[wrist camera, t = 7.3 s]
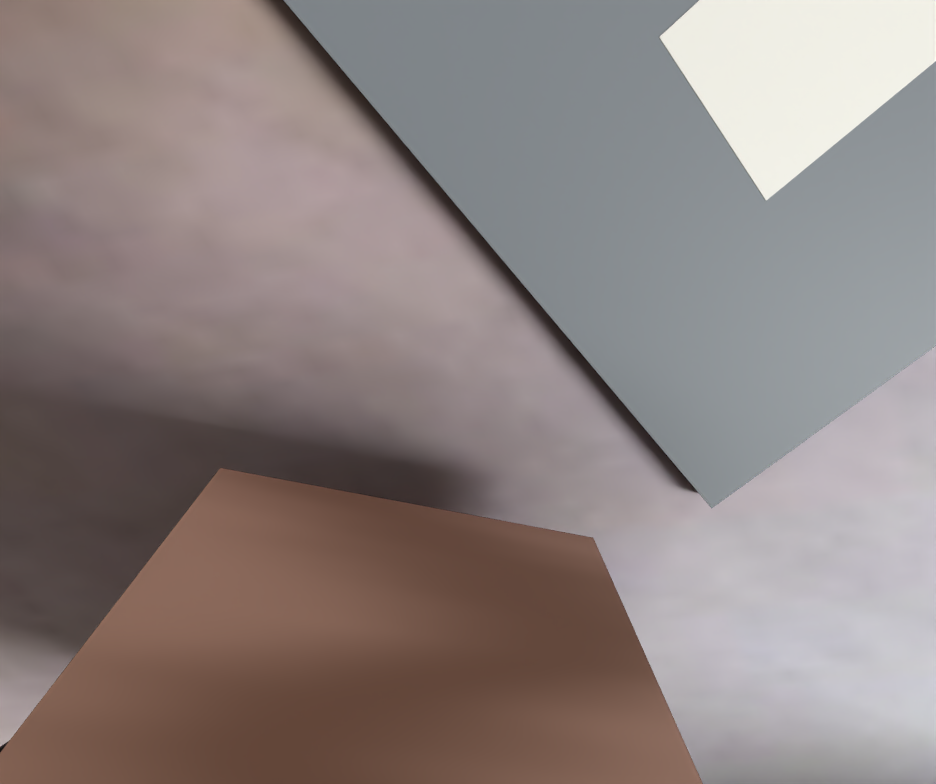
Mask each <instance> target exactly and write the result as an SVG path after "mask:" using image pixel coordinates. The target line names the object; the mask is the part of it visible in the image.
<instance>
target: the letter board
mask: <svg viewBox="0 0 936 784" xmlns="http://www.w3.org/2000/svg"><path fill="white" fill-rule="evenodd" d="M284 2H285V3H286V4H287V5H288V6H289V8H290V9H291V10H292V11H293V12H294V13H295V15H296V16H297V17H298V18H299V19H300V21H301V22H302V23H303V24H304V25H305V26H306V28H307V29H308V30H309V31H310V32H311V34H312V35H313V36H314V37H315V38H316V40H317V41H318V42H319V43H320V44H321V45H322V47H323V48H324V49H325V50H326V51H327V53H328V54H329V55H330V56H331V57H332V59H333V60H334V61H335V62H336V63H337V64H338V66H339V67H340V68H341V69H342V70H343V72H344V73H345V74H346V75H347V76H348V78H349V79H350V80H351V81H352V82H353V83H354V85H355V86H356V87H357V88H358V89H359V91H360V92H361V93H362V94H363V95H364V96H365V98H366V99H367V100H368V101H369V102H370V104H371V105H372V106H373V107H374V108H375V110H376V111H377V112H378V113H379V114H380V115H381V117H382V118H383V119H384V120H385V121H386V123H387V124H388V125H389V126H390V127H391V129H392V130H393V131H394V132H395V133H396V134H397V136H398V137H399V138H400V139H401V140H402V142H403V143H404V144H405V145H406V146H407V148H408V149H409V150H410V151H411V152H412V153H413V155H414V156H415V157H416V158H417V159H418V161H419V162H420V163H421V164H422V165H423V167H424V168H425V169H426V170H427V171H428V172H429V174H430V175H431V176H432V177H433V178H434V180H435V181H436V182H437V183H438V184H439V185H440V187H441V188H442V189H443V190H444V191H445V193H446V194H447V195H448V196H449V197H450V199H451V200H452V201H453V202H454V203H455V204H456V206H457V207H458V208H459V209H460V210H461V212H462V213H463V214H464V215H465V216H466V218H467V219H468V220H469V221H470V222H471V223H472V225H473V226H474V227H475V228H476V229H477V231H478V232H479V233H480V234H481V235H482V237H483V238H484V239H485V240H486V241H487V242H488V244H489V245H490V246H491V247H492V248H493V250H494V251H495V252H496V253H497V254H498V255H499V257H500V258H501V259H502V260H503V261H504V263H505V264H506V265H507V266H508V267H509V269H510V270H511V271H512V272H513V273H514V274H515V276H516V277H517V278H518V279H519V280H520V282H521V283H522V284H523V285H524V286H525V288H526V289H527V290H528V291H529V292H530V293H531V295H532V296H533V297H534V298H535V299H536V301H537V302H538V303H539V304H540V305H541V307H542V308H543V309H544V310H545V311H546V312H547V314H548V315H549V316H550V317H551V318H552V320H553V321H554V322H555V323H556V324H557V326H558V327H559V328H560V329H561V330H562V331H563V333H564V334H565V335H566V336H567V337H568V339H569V340H570V341H571V342H572V343H573V344H574V346H575V347H576V348H577V349H578V350H579V352H580V353H581V354H582V355H583V356H584V358H585V359H586V360H587V361H588V362H589V363H590V365H591V366H592V367H593V368H594V369H595V371H596V372H597V373H598V374H599V375H600V377H601V378H602V379H603V380H604V381H605V382H606V384H607V385H608V386H609V387H610V388H611V390H612V391H613V392H614V393H615V394H616V396H617V397H618V398H619V399H620V400H621V401H622V403H623V404H624V405H625V406H626V407H627V409H628V410H629V411H630V412H631V413H632V414H633V416H634V417H635V418H636V419H637V420H638V422H639V423H640V424H641V425H642V426H643V428H644V429H645V430H646V431H647V432H648V433H649V435H650V436H651V437H652V438H653V439H654V441H655V442H656V443H657V444H658V445H659V447H660V448H661V449H662V450H663V451H664V452H665V454H666V455H667V456H668V457H669V458H670V460H671V461H672V462H673V463H674V464H675V466H676V467H677V468H678V469H679V470H680V471H681V473H682V474H683V475H684V476H685V477H686V479H687V480H688V481H689V482H690V483H691V485H692V486H693V487H694V488H695V489H696V490H697V492H698V493H699V494H700V495H701V496H702V498H703V499H704V500H705V501H706V502H707V503H708V504H709V506H710V507H711V508H713V507H714V506H716V505H717V504H719V503H720V502H721V501H723V500H724V499H725V498H727V497H728V496H730V495H731V494H732V493H734V492H735V491H736V490H738V489H739V488H741V487H742V486H743V485H745V484H746V483H747V482H749V481H750V480H752V479H753V478H754V477H756V476H757V475H759V474H760V473H761V472H763V471H764V470H765V469H767V468H768V467H770V466H771V465H772V464H774V463H775V462H776V461H778V460H779V459H781V458H782V457H783V456H785V455H786V454H787V453H789V452H790V451H792V450H793V449H794V448H796V447H797V446H798V445H800V444H801V443H803V442H804V441H805V440H807V439H808V438H810V437H811V436H812V435H814V434H815V433H816V432H818V431H819V430H821V429H822V428H823V427H825V426H826V425H827V424H829V423H830V422H832V421H833V420H834V419H836V418H837V417H838V416H840V415H841V414H843V413H844V412H845V411H847V410H848V409H849V408H851V407H852V406H854V405H855V404H856V403H858V402H859V401H860V400H862V399H863V398H865V397H866V396H867V395H869V394H870V393H872V392H873V391H874V390H876V389H877V388H878V387H880V386H881V385H883V384H884V383H885V382H887V381H888V380H889V379H891V378H892V377H894V376H895V375H896V374H898V373H899V372H900V371H902V370H903V369H905V368H906V367H907V366H909V365H910V364H911V363H913V362H914V361H916V360H917V359H918V358H920V357H921V356H923V355H924V354H925V353H927V352H928V351H929V350H931V349H932V348H934V347H935V346H936V0H284Z"/></svg>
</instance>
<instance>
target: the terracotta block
mask: <svg viewBox="0 0 936 784" xmlns="http://www.w3.org/2000/svg"><path fill="white" fill-rule="evenodd" d="M0 784H703V783H702V781H701V779H700V777H699V774H698V772H697V770H696V768H695V765H694V763H693V761H692V759H691V756H690V754H689V752H688V750H687V747H686V745H685V743H684V741H683V738H682V736H681V734H680V732H679V730H678V727H677V725H676V723H675V721H674V718H673V716H672V714H671V712H670V709H669V707H668V705H667V703H666V700H665V698H664V696H663V694H662V691H661V689H660V687H659V685H658V682H657V680H656V678H655V676H654V673H653V671H652V669H651V667H650V664H649V662H648V660H647V658H646V655H645V653H644V651H643V649H642V646H641V644H640V642H639V640H638V637H637V635H636V633H635V631H634V628H633V626H632V624H631V622H630V619H629V617H628V615H627V613H626V610H625V608H624V606H623V604H622V601H621V599H620V597H619V595H618V592H617V590H616V588H615V586H614V584H613V581H612V579H611V577H610V575H609V572H608V570H607V568H606V566H605V563H604V561H603V559H602V557H601V554H600V552H599V550H598V548H597V545H596V543H595V541H594V539H593V538H591V537H586V536H581V535H575V534H570V533H565V532H559V531H554V530H549V529H543V528H538V527H533V526H527V525H522V524H517V523H511V522H506V521H501V520H495V519H490V518H485V517H479V516H474V515H469V514H463V513H458V512H453V511H447V510H442V509H437V508H431V507H426V506H421V505H415V504H410V503H405V502H399V501H394V500H389V499H383V498H378V497H373V496H367V495H362V494H357V493H352V492H346V491H341V490H336V489H330V488H325V487H320V486H314V485H309V484H304V483H298V482H293V481H288V480H282V479H277V478H272V477H266V476H261V475H256V474H250V473H245V472H240V471H234V470H229V469H224V468H220V469H219V470H218V471H217V473H216V474H215V475H214V477H213V478H212V479H211V480H210V482H209V483H208V484H207V486H206V487H205V488H204V490H203V491H202V492H201V493H200V495H199V496H198V497H197V499H196V500H195V501H194V502H193V504H192V505H191V506H190V508H189V509H188V510H187V512H186V513H185V514H184V515H183V517H182V518H181V519H180V521H179V522H178V523H177V524H176V526H175V527H174V528H173V530H172V531H171V532H170V534H169V535H168V536H167V537H166V539H165V540H164V541H163V543H162V544H161V545H160V547H159V548H158V549H157V550H156V552H155V553H154V554H153V556H152V557H151V558H150V559H149V561H148V562H147V563H146V565H145V566H144V567H143V569H142V570H141V571H140V572H139V574H138V575H137V576H136V578H135V579H134V580H133V581H132V583H131V584H130V585H129V587H128V588H127V589H126V591H125V592H124V593H123V594H122V596H121V597H120V598H119V600H118V601H117V602H116V603H115V605H114V606H113V607H112V609H111V610H110V611H109V613H108V614H107V615H106V616H105V618H104V619H103V620H102V622H101V623H100V624H99V626H98V627H97V628H96V629H95V631H94V632H93V633H92V635H91V636H90V637H89V638H88V640H87V641H86V642H85V644H84V645H83V646H82V648H81V649H80V650H79V651H78V653H77V654H76V655H75V657H74V658H73V659H72V660H71V662H70V663H69V664H68V666H67V667H66V668H65V670H64V671H63V672H62V673H61V675H60V676H59V677H58V679H57V680H56V681H55V683H54V684H53V685H52V686H51V688H50V689H49V690H48V692H47V693H46V694H45V695H44V697H43V698H42V699H41V701H40V702H39V703H38V705H37V706H36V707H35V708H34V710H33V711H32V712H31V714H30V715H29V716H28V717H27V719H26V720H25V721H24V723H23V724H22V725H21V727H20V728H19V729H18V730H17V732H16V733H15V734H14V736H13V737H12V738H11V739H10V741H9V742H8V743H7V745H6V746H5V747H4V749H3V750H2V751H1V752H0Z"/></svg>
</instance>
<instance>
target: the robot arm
mask: <svg viewBox="0 0 936 784" xmlns="http://www.w3.org/2000/svg"><path fill="white" fill-rule="evenodd" d="M9 741H10V740H9ZM9 741H8V742H9ZM8 742H7V743H8ZM7 743H5V744H4V745H2V746H1V747H0V752H1V751H2V750H3V749H4V747H5V746H6V745H7Z"/></svg>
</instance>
